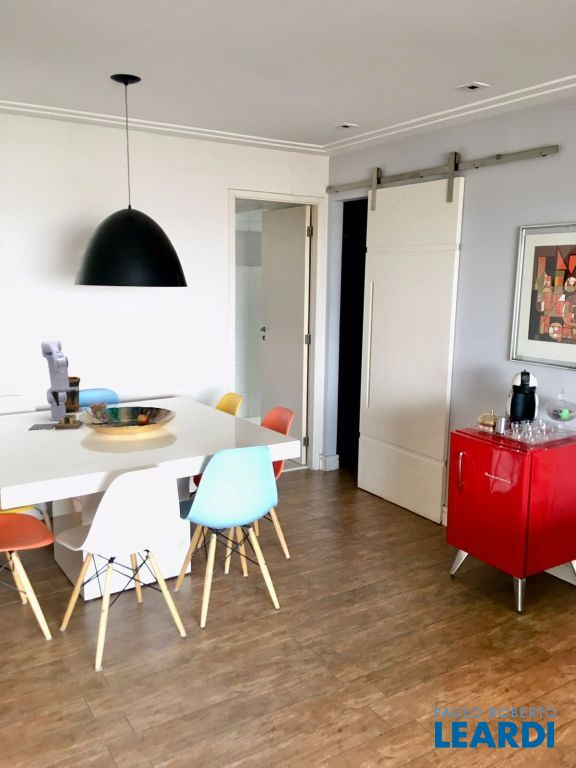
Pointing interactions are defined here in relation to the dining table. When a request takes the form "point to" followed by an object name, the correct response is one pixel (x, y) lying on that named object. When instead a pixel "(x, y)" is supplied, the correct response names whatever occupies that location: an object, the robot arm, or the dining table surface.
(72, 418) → the u link
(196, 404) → the dining table surface
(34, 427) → the mat
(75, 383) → the vessel
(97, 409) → the mug
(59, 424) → the peg stand
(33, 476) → the dining table surface
